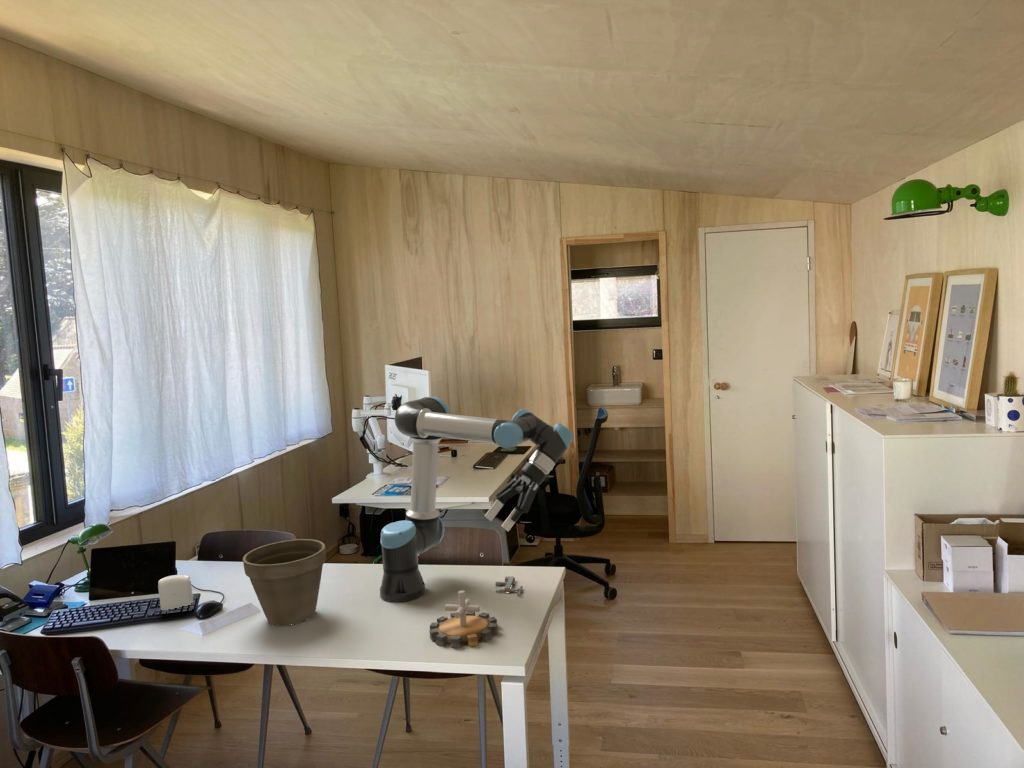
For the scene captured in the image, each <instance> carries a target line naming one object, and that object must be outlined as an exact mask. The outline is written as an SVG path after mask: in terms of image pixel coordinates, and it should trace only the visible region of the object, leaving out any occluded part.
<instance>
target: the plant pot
mask: <svg viewBox="0 0 1024 768" xmlns="http://www.w3.org/2000/svg"><path fill="white" fill-rule="evenodd" d="M326 553H327V552H326V544H325V543H324V542H322V541H320V540H318V539H311V538H309V539H308V538H307V539H306V538H300V539H299V538H298V539H290V540H282V541H278V542H277V541H276V542H272V543H267V544H265V545H261V546H259V547H256V548H254V549H252V550H249V552H247V553H246V554H244V556H243V557H242V564H243V568H244V574H245V575H246V576H247V577H248V578H249V580H250V584H251V585H252V587H253V590H254V593H255V594H256V597H257V599H258V600H257V601H258V602H259V604H260V607H261V609H262V611H263V613H264V617H265V618H266V620H267V622H268V623H269V624H270V625H272V626H277V625H279V626H278V627H285V626H284V625H288V626H292V625H291V624H294V625H297V624H296V623H298V624H300V623H299V622H301V623H303V622H302V621H304V622H306V621H308V620H310V619H311V618H313V617H314V616H313V615H316V610H317V605H318V598H319V592H320V586H321V580H322V572H323V565H324V564H325V562H326V560H327V558H326V555H327V554H326ZM312 616H313V617H312ZM309 618H310V619H309ZM307 619H308V620H307ZM305 620H306V621H305Z"/></svg>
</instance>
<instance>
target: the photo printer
mask: <svg viewBox="0 0 1024 768" xmlns="http://www.w3.org/2000/svg"><path fill="white" fill-rule="evenodd" d="M157 583H158V585H157V588H158V594H159V595H158V597H159V604H160V605H159V607H160V611H161V610H168V609H174V608H179V607H182V606H188V605H191V603H193V602H194V595H193V587H192V581H191V577H190V576H189V575H185V574H175V575H174V574H173V575H168V576H165V577H163V578H161V579H159V580H158V582H157Z"/></svg>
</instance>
